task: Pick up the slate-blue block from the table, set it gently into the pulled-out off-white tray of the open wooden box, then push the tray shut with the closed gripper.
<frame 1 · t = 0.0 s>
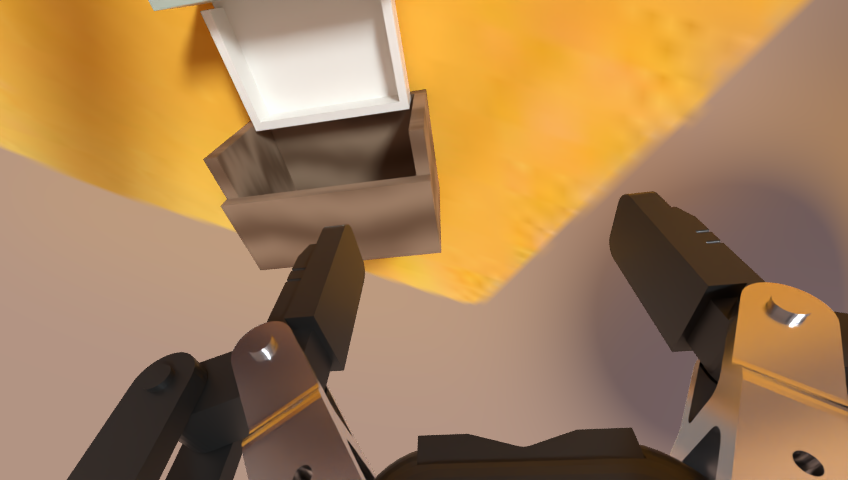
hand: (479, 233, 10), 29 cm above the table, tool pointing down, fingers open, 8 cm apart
open wooden box: (354, 153, 40), on the table
tray: (310, 53, 30), point 4 cm above the table, slide at 10.0 cm
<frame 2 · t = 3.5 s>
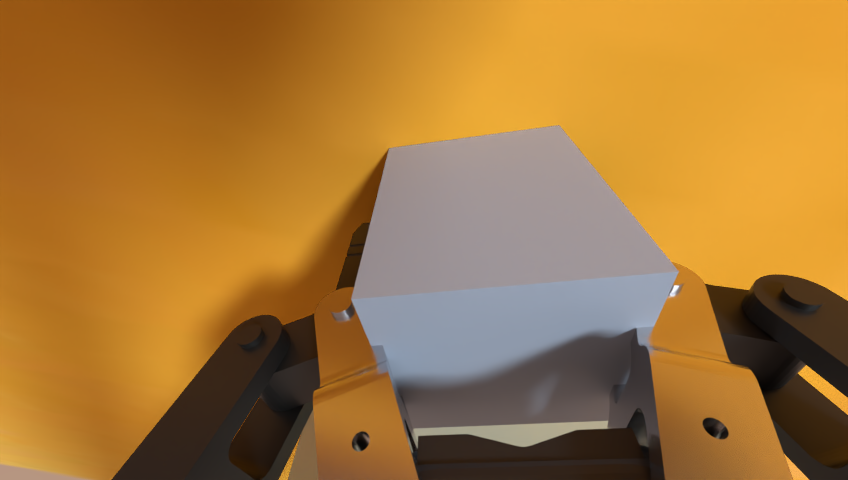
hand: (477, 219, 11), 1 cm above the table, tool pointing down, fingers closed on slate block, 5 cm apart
slate block: (476, 207, 11), on the table, touching gripper
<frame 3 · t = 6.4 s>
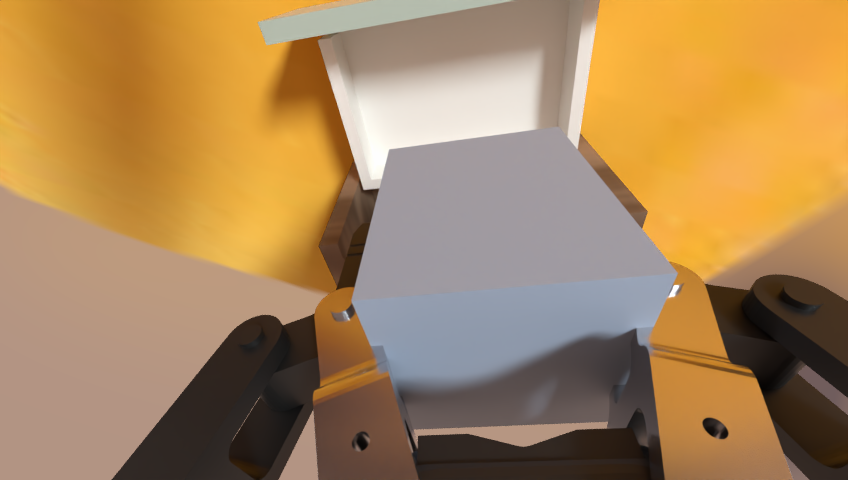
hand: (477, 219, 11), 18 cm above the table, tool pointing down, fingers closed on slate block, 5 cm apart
open wooden box: (466, 205, 32), on the table
tray: (458, 95, 22), point 4 cm above the table, slide at 10.0 cm
slate block: (476, 208, 11), point 17 cm above the table, touching gripper
when the fingers open (4 cm above the table, at t = 9.5 s): slate block drops 1 cm, resting on tray.
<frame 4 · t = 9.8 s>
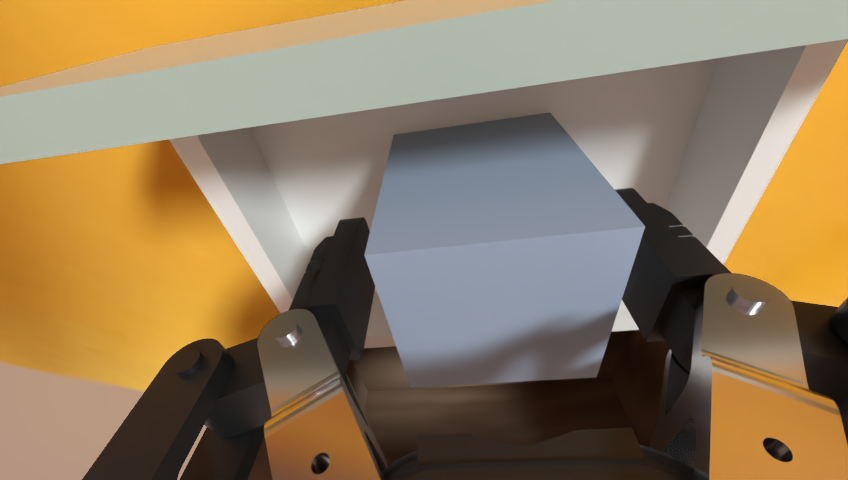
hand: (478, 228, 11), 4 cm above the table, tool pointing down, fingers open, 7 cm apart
open wooden box: (479, 331, 21), on the table
tray: (478, 224, 11), point 4 cm above the table, slide at 10.0 cm, touching slate block
slate block: (474, 191, 12), point 2 cm above the table, touching tray
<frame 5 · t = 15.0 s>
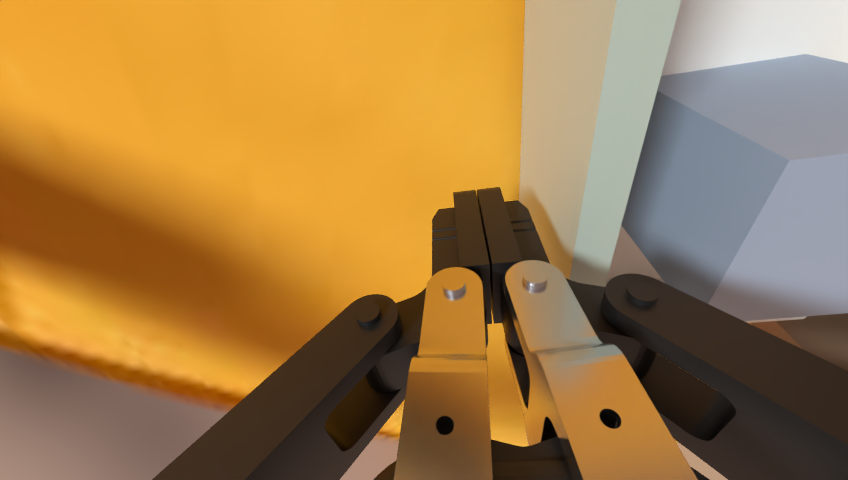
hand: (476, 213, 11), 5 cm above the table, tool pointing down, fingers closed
tray: (730, 171, 11), point 4 cm above the table, slide at 9.6 cm, touching gripper, slate block
slate block: (692, 141, 12), point 2 cm above the table, touching tray
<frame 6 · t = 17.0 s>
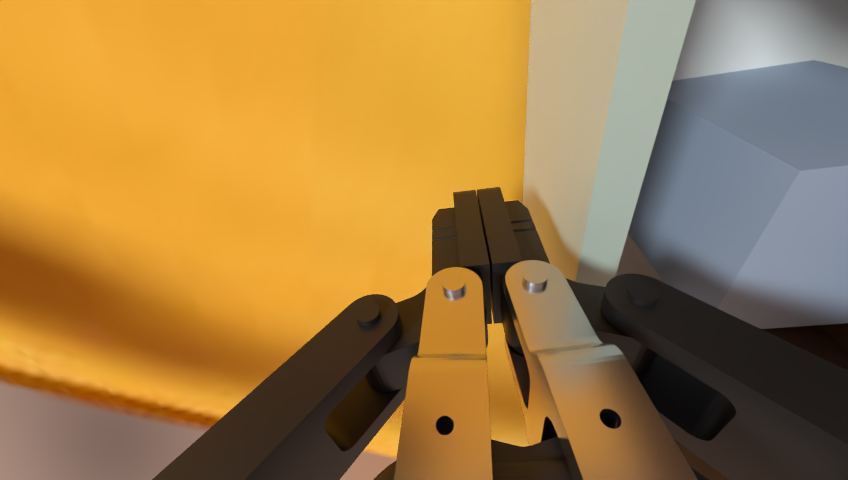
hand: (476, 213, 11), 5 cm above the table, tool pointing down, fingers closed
open wooden box: (711, 122, 14), on the table
tray: (736, 177, 11), point 4 cm above the table, slide at 0.4 cm, touching gripper, slate block
slate block: (697, 147, 12), point 2 cm above the table, touching tray
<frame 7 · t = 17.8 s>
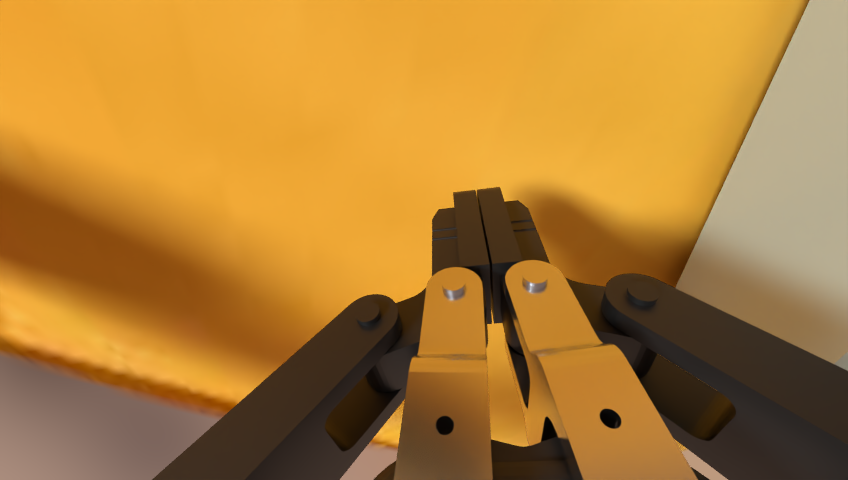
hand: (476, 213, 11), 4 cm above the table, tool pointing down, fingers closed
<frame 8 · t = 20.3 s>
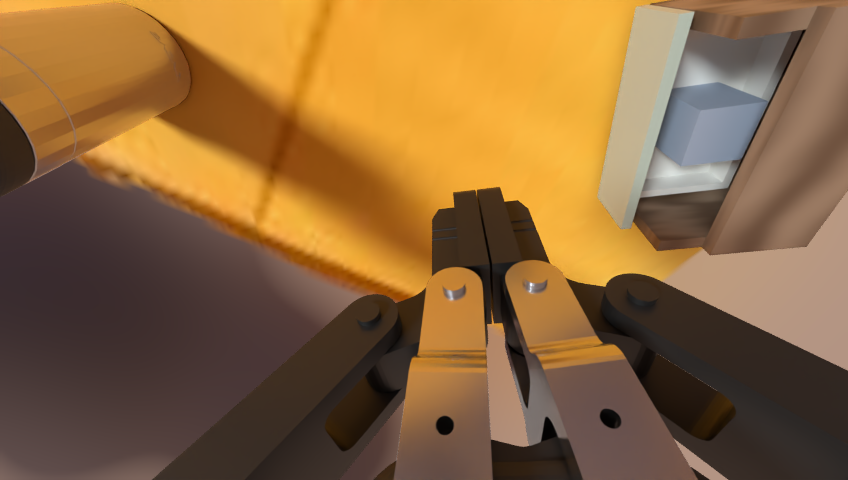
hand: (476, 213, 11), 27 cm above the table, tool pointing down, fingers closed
open wooden box: (687, 104, 35), on the table
tray: (693, 121, 31), point 4 cm above the table, slide at 0.4 cm, touching slate block
slate block: (681, 112, 33), point 2 cm above the table, touching tray
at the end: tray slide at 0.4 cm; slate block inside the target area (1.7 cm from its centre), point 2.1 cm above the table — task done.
